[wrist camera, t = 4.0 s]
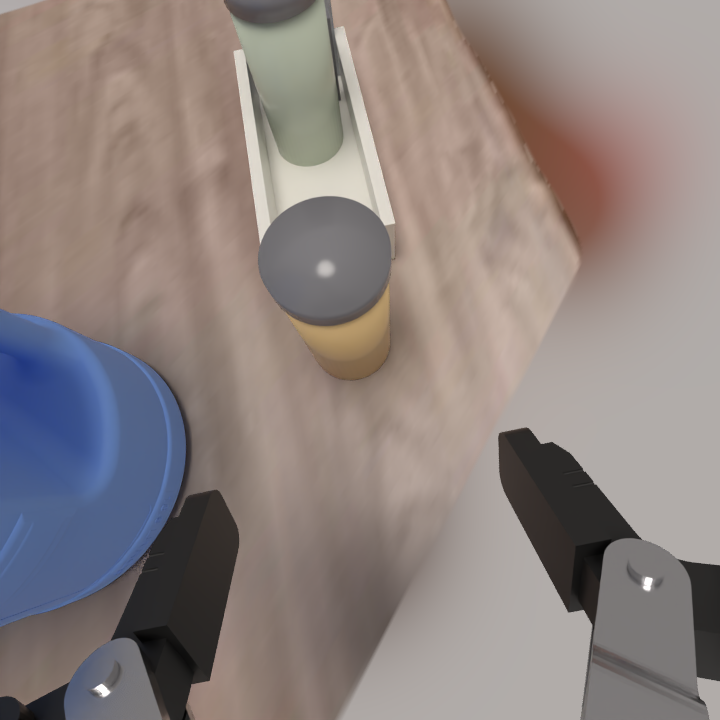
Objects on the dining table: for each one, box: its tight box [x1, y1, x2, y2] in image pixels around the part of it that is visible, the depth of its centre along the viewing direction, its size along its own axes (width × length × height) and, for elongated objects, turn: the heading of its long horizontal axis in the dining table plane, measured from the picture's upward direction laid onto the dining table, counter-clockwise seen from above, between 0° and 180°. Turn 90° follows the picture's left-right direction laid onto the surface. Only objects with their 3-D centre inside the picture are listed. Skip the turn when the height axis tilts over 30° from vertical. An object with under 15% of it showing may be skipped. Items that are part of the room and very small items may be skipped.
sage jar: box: [224, 0, 344, 167], centre depth 25 cm, size 5×5×11 cm
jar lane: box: [234, 0, 395, 259], centre depth 27 cm, size 18×8×7 cm, turn 11°
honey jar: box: [258, 196, 391, 380], centre depth 21 cm, size 5×5×11 cm
